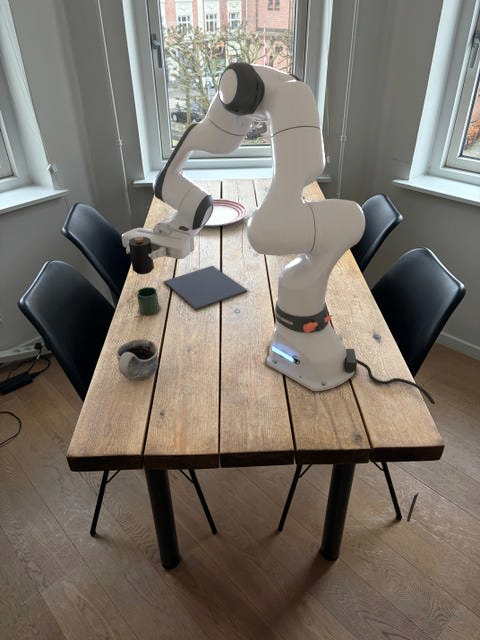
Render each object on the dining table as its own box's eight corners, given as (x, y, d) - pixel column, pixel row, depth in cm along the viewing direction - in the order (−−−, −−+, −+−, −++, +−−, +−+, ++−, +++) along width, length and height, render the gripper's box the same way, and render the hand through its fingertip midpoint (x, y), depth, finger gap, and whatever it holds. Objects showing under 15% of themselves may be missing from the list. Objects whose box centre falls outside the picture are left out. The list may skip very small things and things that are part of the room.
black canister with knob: (158, 271, 129) (154, 239, 124) (138, 277, 127) (133, 244, 121) (148, 263, 133) (144, 232, 128) (129, 269, 131) (124, 237, 125)
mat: (246, 291, 145) (246, 289, 145) (196, 310, 137) (196, 308, 136) (212, 267, 159) (212, 265, 159) (164, 282, 151) (164, 281, 150)
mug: (164, 361, 117) (159, 328, 112) (155, 396, 107) (149, 361, 101) (125, 361, 118) (119, 328, 112) (112, 395, 107) (105, 361, 102)
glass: (162, 311, 137) (160, 293, 133) (144, 317, 134) (142, 299, 131) (153, 302, 140) (151, 285, 137) (136, 308, 138) (133, 290, 134)
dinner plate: (241, 232, 182) (241, 224, 181) (173, 229, 186) (172, 221, 184) (251, 207, 205) (251, 200, 203) (190, 204, 209) (189, 197, 207)
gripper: (137, 219, 139) (106, 236, 128) (197, 230, 131) (169, 250, 121) (140, 239, 142) (110, 257, 132) (199, 251, 135) (172, 272, 124)
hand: (139, 254), depth 126 cm, fingers closed on black canister with knob, 6 cm apart
